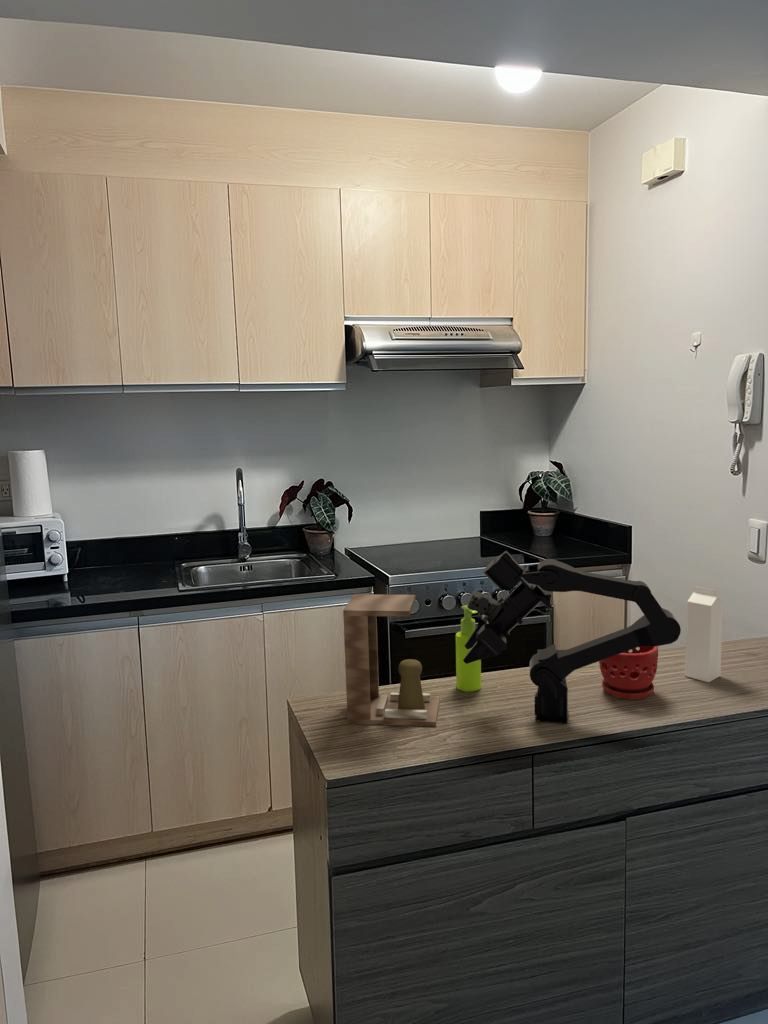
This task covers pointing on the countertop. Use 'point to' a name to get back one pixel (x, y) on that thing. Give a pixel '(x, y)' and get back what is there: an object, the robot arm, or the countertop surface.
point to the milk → (704, 635)
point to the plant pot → (630, 673)
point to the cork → (410, 685)
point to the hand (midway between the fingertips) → (465, 654)
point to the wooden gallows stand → (376, 664)
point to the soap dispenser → (465, 673)
